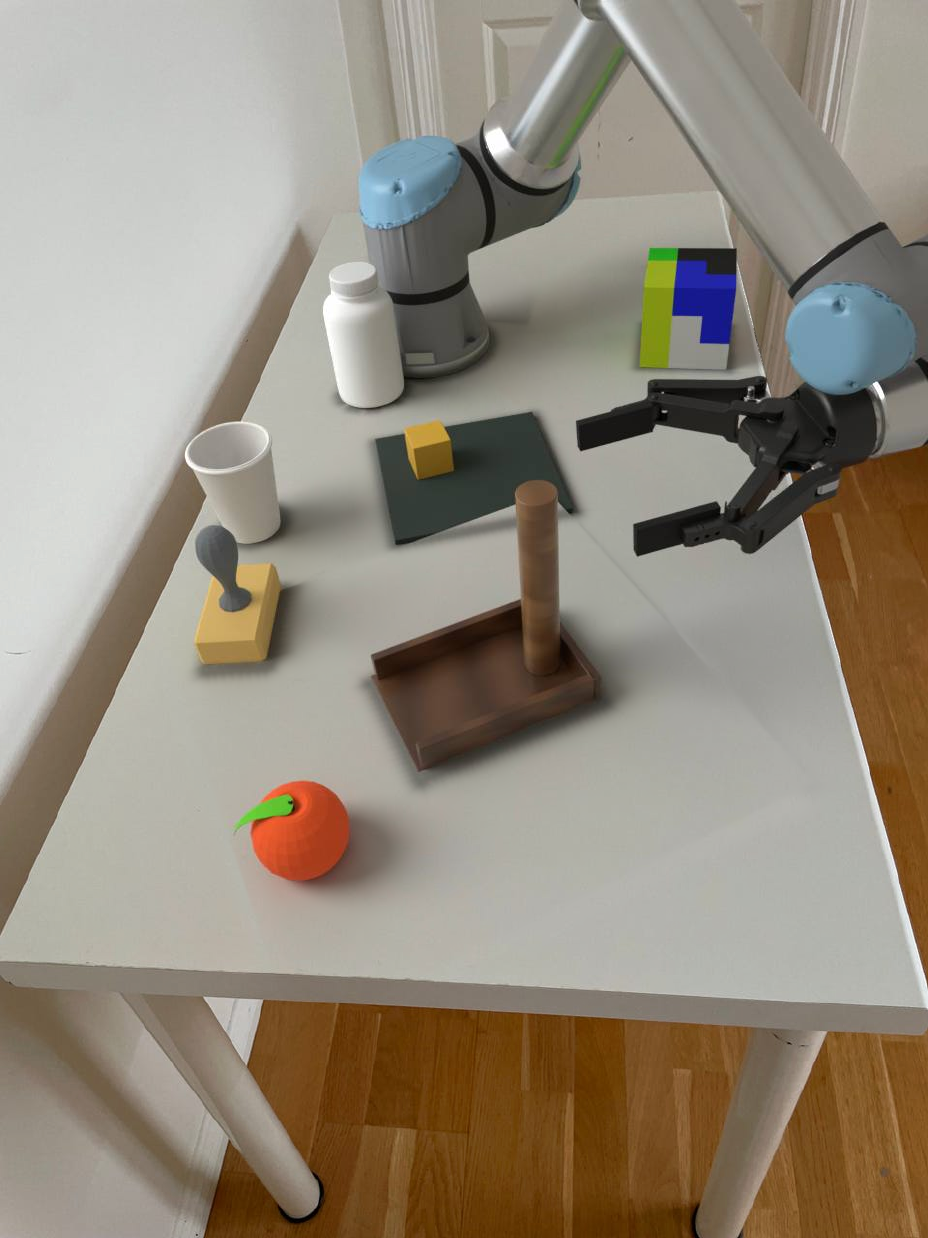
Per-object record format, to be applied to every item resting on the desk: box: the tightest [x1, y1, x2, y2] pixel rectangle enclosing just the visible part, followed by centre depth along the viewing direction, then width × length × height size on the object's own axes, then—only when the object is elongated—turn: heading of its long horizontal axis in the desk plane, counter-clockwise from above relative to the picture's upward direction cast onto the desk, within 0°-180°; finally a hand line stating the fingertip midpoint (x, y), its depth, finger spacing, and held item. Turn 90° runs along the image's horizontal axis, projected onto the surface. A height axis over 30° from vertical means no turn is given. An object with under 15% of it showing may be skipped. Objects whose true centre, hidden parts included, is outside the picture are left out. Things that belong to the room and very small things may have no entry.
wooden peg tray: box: [370, 480, 602, 773], centre depth 72 cm, size 16×11×19 cm
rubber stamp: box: [193, 524, 283, 665], centre depth 82 cm, size 10×6×12 cm, turn 0°
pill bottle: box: [322, 261, 405, 409], centre depth 108 cm, size 8×8×15 cm
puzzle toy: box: [639, 247, 738, 371], centre depth 111 cm, size 10×10×10 cm
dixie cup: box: [184, 421, 282, 545], centre depth 93 cm, size 8×8×10 cm
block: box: [403, 419, 454, 480], centre depth 99 cm, size 4×4×4 cm
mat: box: [374, 411, 574, 545], centre depth 99 cm, size 18×18×1 cm
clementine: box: [233, 780, 350, 882], centre depth 66 cm, size 8×7×7 cm
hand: (604, 485), depth 75 cm, fingers open, 13 cm apart
